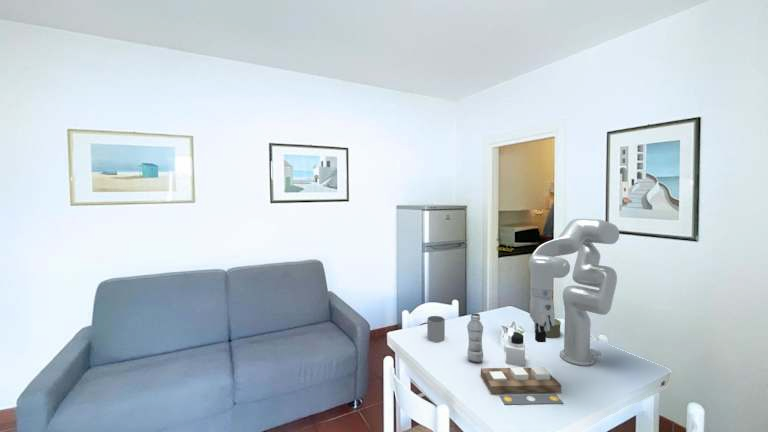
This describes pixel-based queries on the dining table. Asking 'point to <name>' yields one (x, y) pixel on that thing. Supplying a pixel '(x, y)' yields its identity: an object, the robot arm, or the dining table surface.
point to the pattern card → (530, 399)
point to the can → (554, 330)
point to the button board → (519, 383)
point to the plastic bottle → (475, 338)
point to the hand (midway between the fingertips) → (540, 341)
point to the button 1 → (497, 376)
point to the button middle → (518, 374)
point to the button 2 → (540, 373)
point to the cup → (436, 329)
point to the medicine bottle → (515, 349)
